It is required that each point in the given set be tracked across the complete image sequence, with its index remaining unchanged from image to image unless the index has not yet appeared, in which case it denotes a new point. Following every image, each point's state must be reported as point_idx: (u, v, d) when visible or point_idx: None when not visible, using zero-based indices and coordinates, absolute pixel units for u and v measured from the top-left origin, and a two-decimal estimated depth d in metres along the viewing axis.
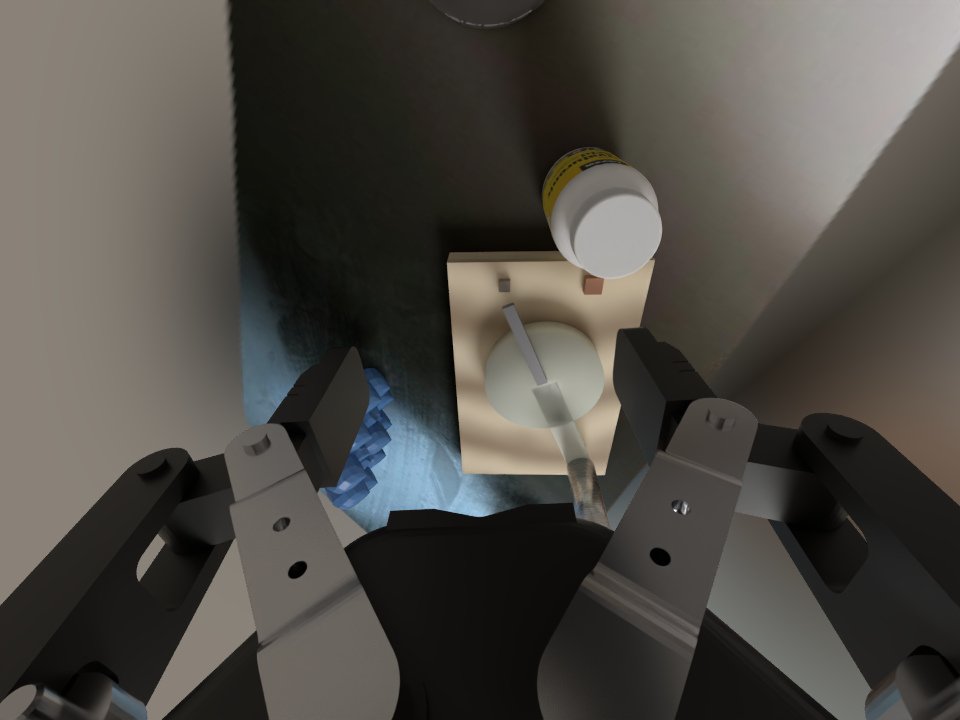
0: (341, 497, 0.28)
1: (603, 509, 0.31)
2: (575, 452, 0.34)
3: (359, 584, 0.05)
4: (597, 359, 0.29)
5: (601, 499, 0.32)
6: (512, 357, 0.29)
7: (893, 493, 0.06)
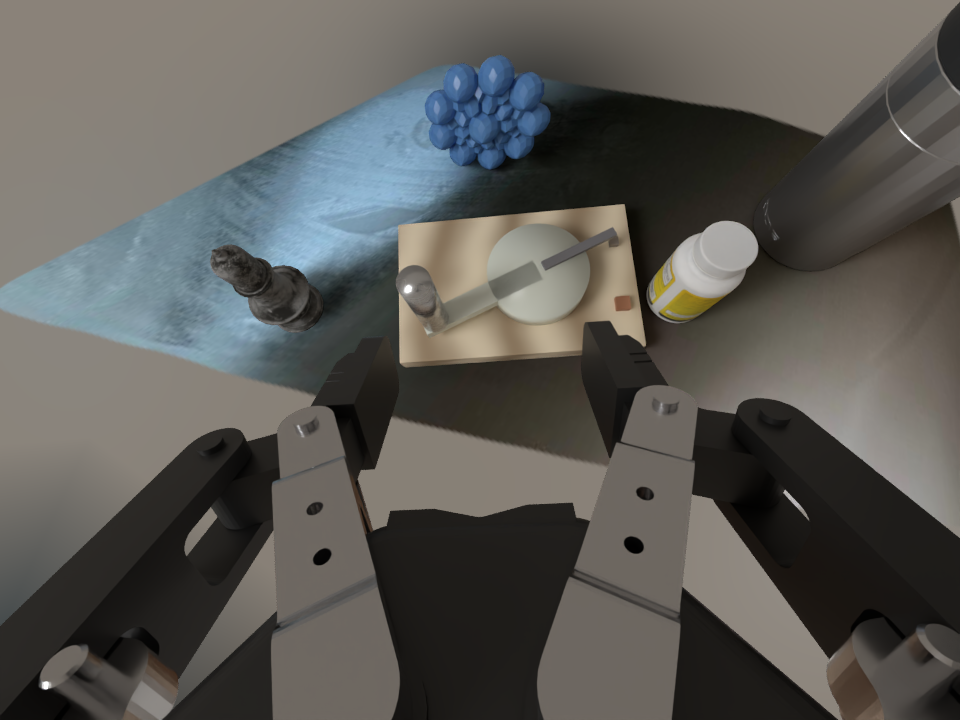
0: (469, 70, 0.32)
1: (434, 307, 0.30)
2: (456, 310, 0.35)
3: (375, 583, 0.05)
4: (570, 306, 0.34)
5: (436, 313, 0.31)
6: (565, 241, 0.35)
7: (824, 468, 0.07)
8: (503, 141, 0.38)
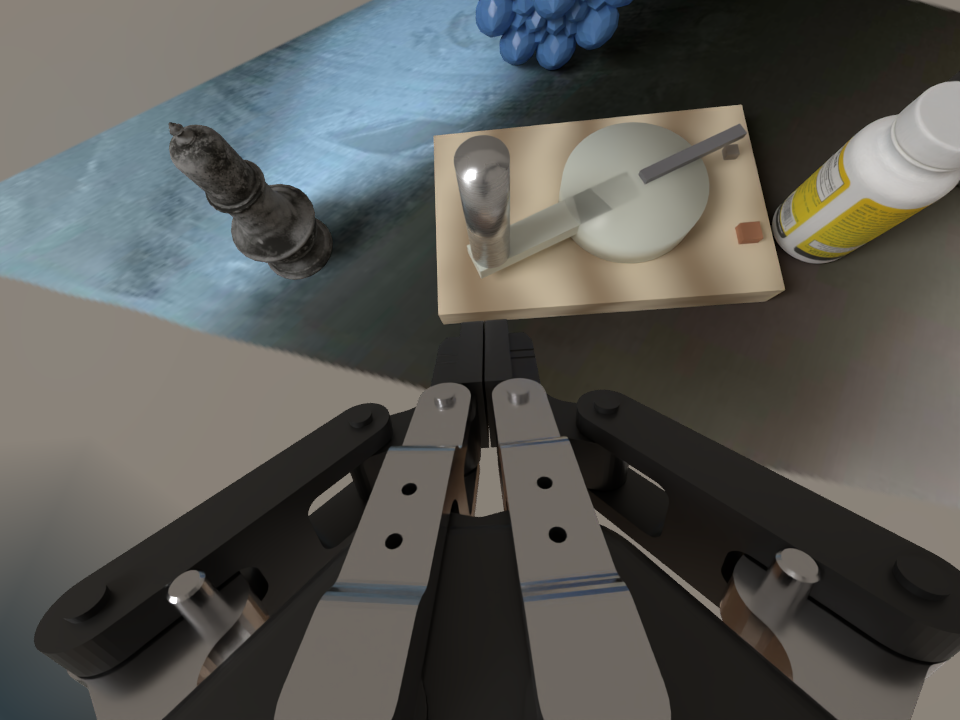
0: None
1: (504, 216, 0.20)
2: (520, 238, 0.25)
3: (418, 600, 0.05)
4: (683, 232, 0.24)
5: (503, 228, 0.21)
6: (671, 145, 0.25)
7: (660, 441, 0.07)
8: (579, 16, 0.28)
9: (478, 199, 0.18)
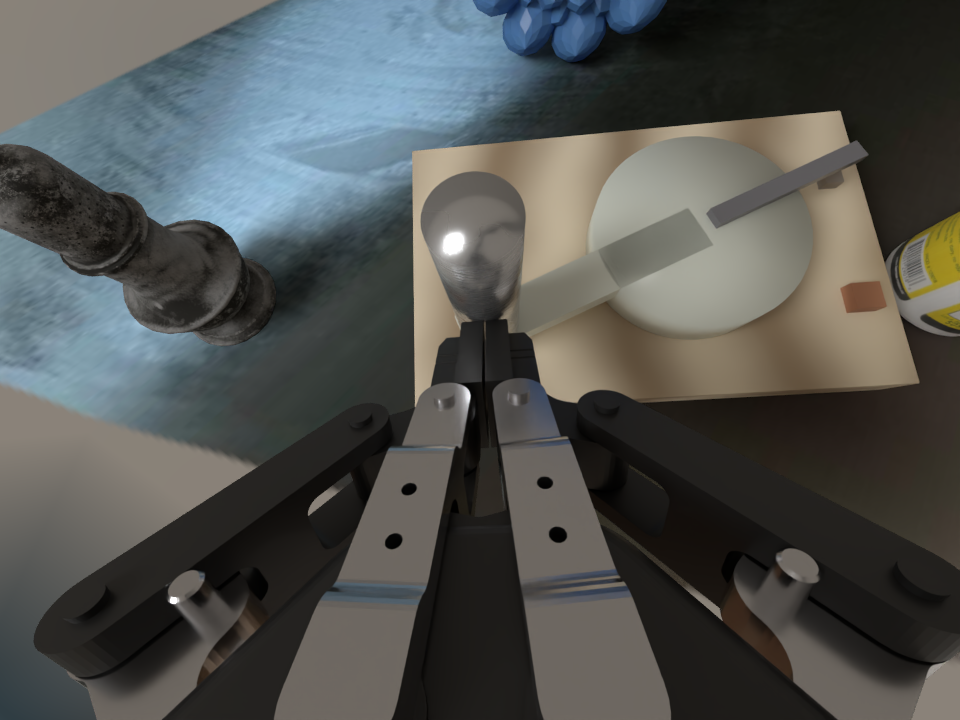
0: None
1: (512, 299, 0.12)
2: (533, 307, 0.17)
3: (418, 599, 0.05)
4: (777, 303, 0.16)
5: (509, 312, 0.13)
6: (753, 170, 0.17)
7: (660, 441, 0.07)
8: None
9: (467, 285, 0.10)
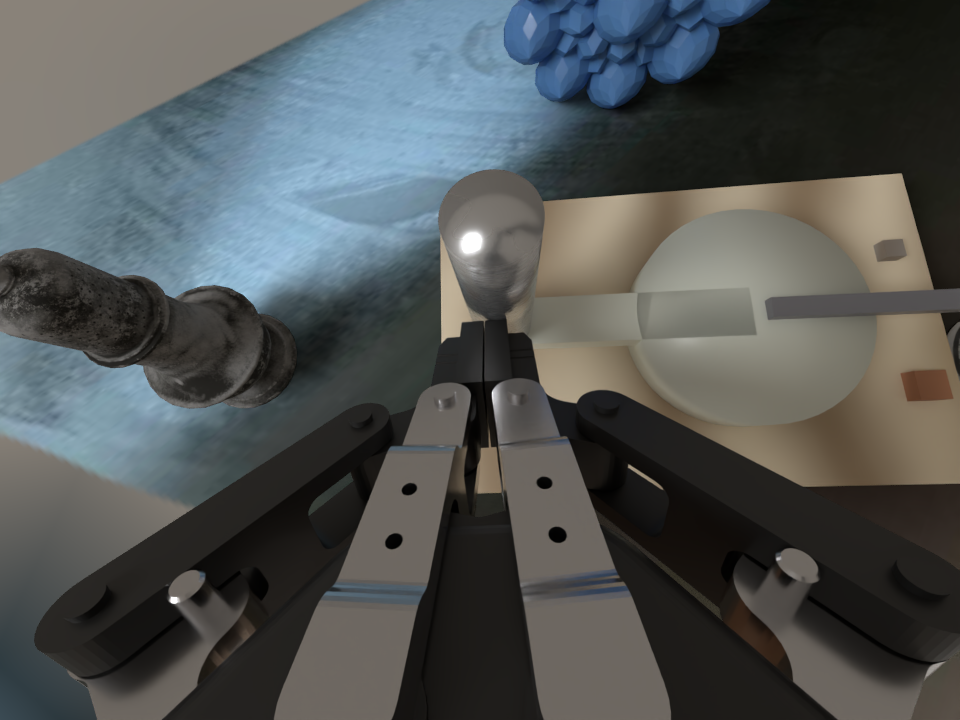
0: None
1: (514, 307, 0.12)
2: (550, 322, 0.17)
3: (418, 600, 0.05)
4: (794, 419, 0.15)
5: (511, 318, 0.13)
6: (837, 276, 0.16)
7: (659, 441, 0.07)
8: (661, 39, 0.18)
9: (466, 278, 0.10)
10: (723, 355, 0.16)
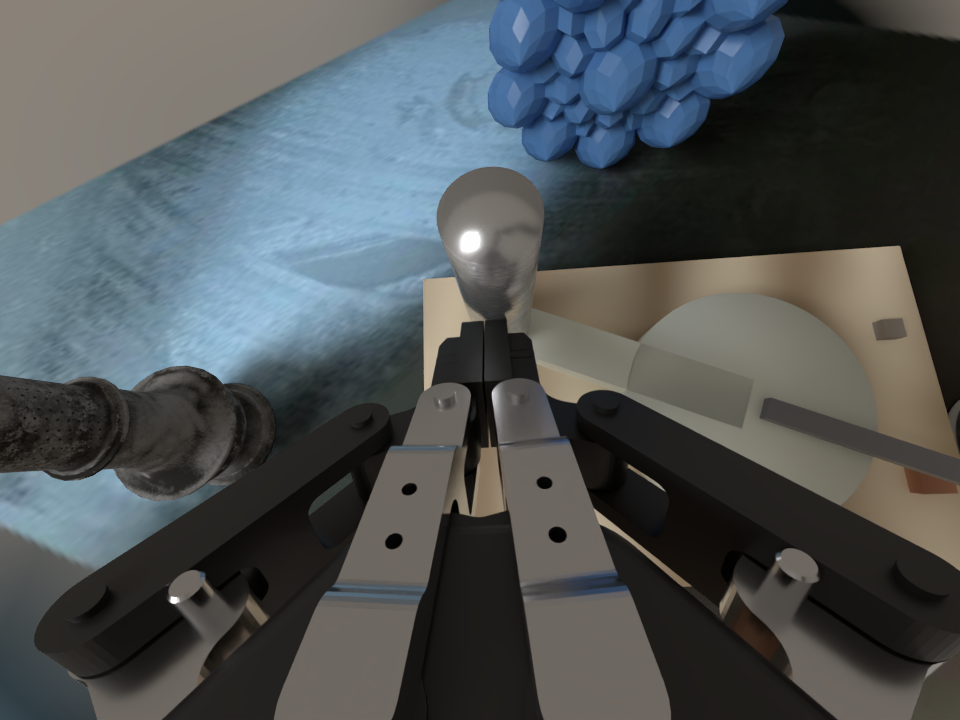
0: None
1: (498, 310, 0.12)
2: (545, 339, 0.16)
3: (418, 599, 0.05)
4: None
5: None
6: (850, 403, 0.15)
7: (659, 441, 0.07)
8: (650, 109, 0.18)
9: (452, 264, 0.10)
10: None
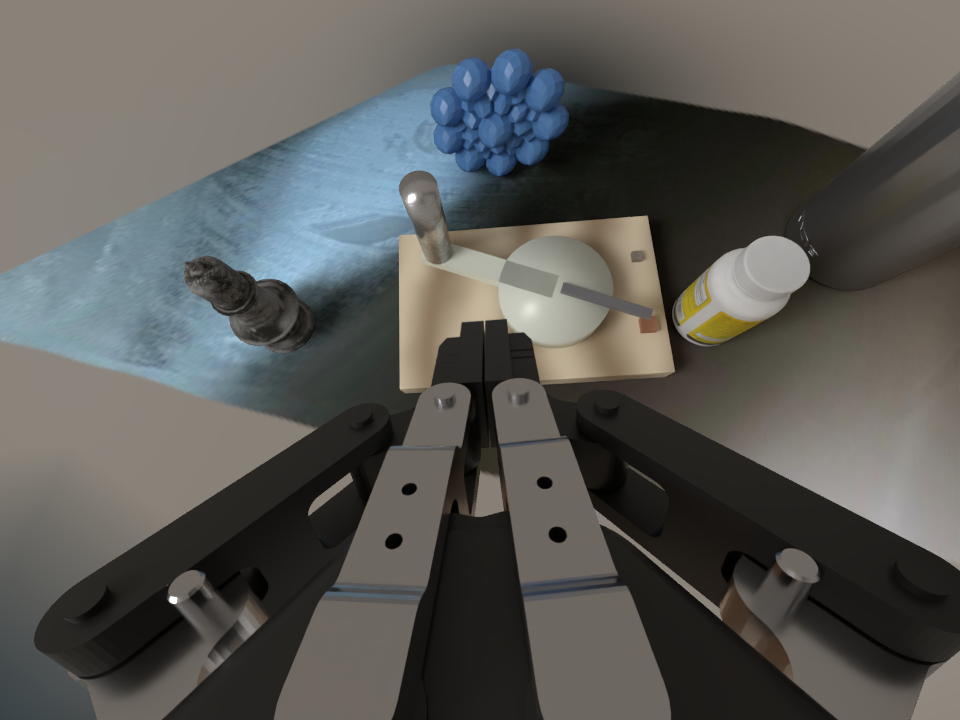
0: (481, 65, 0.29)
1: (427, 231, 0.28)
2: (460, 259, 0.33)
3: (418, 599, 0.05)
4: (549, 339, 0.30)
5: (428, 238, 0.29)
6: (601, 285, 0.31)
7: (659, 441, 0.07)
8: (515, 145, 0.34)
9: (406, 207, 0.26)
10: (531, 301, 0.31)
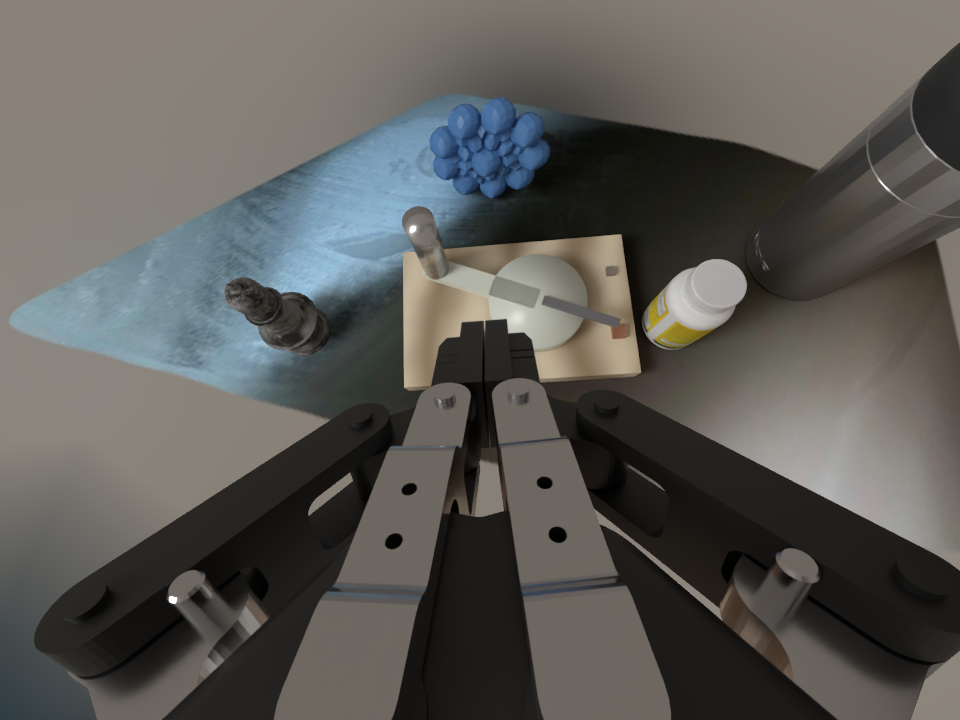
0: (472, 110, 0.33)
1: (426, 254, 0.33)
2: (455, 275, 0.38)
3: (418, 599, 0.05)
4: None
5: (427, 260, 0.34)
6: (577, 297, 0.36)
7: (660, 441, 0.07)
8: (504, 173, 0.39)
9: (408, 236, 0.31)
10: (517, 312, 0.36)
